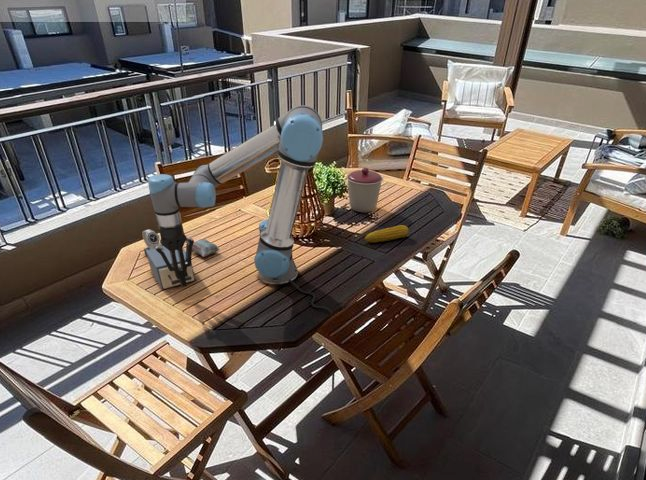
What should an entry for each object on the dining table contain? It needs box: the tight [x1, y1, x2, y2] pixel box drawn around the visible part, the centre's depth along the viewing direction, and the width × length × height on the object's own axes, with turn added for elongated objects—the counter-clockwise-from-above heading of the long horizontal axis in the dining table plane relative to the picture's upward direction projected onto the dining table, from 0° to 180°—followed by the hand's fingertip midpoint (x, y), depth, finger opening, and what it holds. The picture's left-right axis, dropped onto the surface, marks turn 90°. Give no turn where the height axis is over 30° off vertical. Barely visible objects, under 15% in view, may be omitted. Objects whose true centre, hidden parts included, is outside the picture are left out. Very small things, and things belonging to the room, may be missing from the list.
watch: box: [142, 228, 161, 257], centre depth 183 cm, size 6×8×11 cm
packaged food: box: [192, 238, 221, 258], centre depth 187 cm, size 9×12×5 cm
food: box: [364, 224, 409, 244], centre depth 200 cm, size 21×6×6 cm, turn 115°
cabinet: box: [146, 246, 196, 290], centre depth 170 cm, size 15×13×10 cm
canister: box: [346, 167, 384, 213], centre depth 223 cm, size 18×18×21 cm
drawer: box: [159, 264, 195, 290], centre depth 167 cm, size 20×11×8 cm, turn 33°
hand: (183, 285), depth 160 cm, fingers closed
